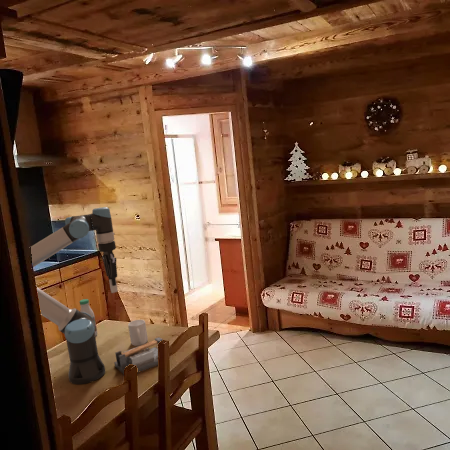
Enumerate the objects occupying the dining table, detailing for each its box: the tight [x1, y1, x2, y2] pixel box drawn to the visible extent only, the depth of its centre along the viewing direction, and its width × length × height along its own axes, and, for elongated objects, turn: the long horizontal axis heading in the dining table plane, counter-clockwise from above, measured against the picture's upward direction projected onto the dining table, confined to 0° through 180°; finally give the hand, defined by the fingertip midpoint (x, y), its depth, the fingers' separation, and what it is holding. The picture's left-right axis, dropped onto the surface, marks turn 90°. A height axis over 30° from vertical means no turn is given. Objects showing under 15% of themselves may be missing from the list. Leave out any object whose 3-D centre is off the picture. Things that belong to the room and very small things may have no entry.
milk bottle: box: [79, 298, 98, 338], centre depth 235 cm, size 8×8×20 cm
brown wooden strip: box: [118, 339, 158, 357], centre depth 196 cm, size 18×3×1 cm, turn 124°
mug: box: [127, 319, 149, 347], centre depth 218 cm, size 12×8×10 cm
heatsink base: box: [113, 337, 164, 375], centre depth 197 cm, size 21×14×8 cm
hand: (114, 291), depth 205 cm, fingers closed
